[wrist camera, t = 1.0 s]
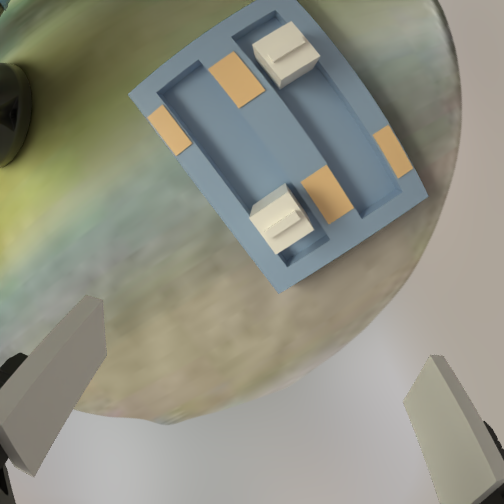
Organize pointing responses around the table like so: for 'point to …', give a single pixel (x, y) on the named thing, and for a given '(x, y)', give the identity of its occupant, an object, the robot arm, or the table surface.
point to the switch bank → (280, 139)
